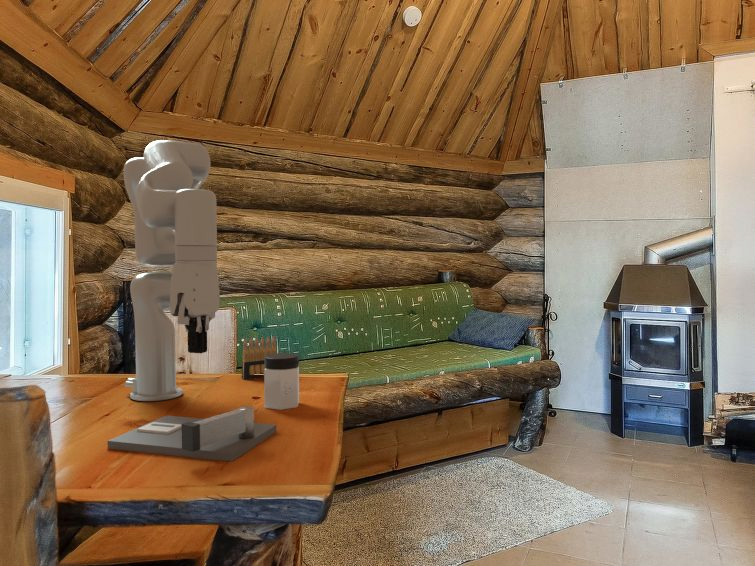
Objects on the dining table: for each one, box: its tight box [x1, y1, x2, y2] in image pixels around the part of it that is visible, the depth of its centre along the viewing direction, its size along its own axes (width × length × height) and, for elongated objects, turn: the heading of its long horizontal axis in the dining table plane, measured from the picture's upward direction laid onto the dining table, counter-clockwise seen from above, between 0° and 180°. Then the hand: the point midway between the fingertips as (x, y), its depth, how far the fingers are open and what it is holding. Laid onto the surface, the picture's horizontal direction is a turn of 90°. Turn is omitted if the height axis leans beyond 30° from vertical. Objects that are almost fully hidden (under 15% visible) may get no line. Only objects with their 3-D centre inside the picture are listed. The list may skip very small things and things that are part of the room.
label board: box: [107, 415, 277, 462], centre depth 118 cm, size 26×18×2 cm
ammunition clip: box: [241, 335, 278, 381], centre depth 176 cm, size 11×2×12 cm, turn 123°
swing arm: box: [182, 406, 255, 452], centre depth 109 cm, size 15×3×5 cm, turn 147°
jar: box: [263, 352, 300, 411], centre depth 144 cm, size 9×8×12 cm
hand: (197, 352), depth 114 cm, fingers closed
